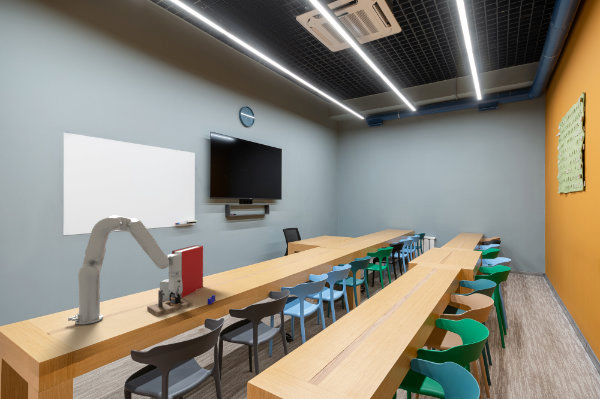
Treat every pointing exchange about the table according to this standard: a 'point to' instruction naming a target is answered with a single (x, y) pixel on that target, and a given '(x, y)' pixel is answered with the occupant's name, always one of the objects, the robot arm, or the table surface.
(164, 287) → the supplement box
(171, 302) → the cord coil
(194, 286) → the book
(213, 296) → the cable holder
